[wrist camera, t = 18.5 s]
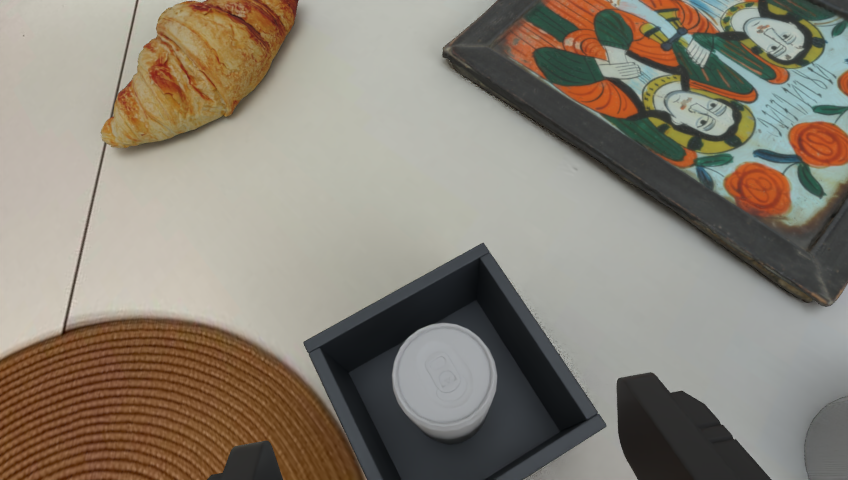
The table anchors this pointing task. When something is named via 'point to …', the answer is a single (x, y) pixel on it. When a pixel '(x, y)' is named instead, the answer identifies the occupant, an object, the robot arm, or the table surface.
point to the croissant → (198, 67)
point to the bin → (515, 391)
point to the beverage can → (445, 381)
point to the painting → (695, 112)
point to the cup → (828, 443)
